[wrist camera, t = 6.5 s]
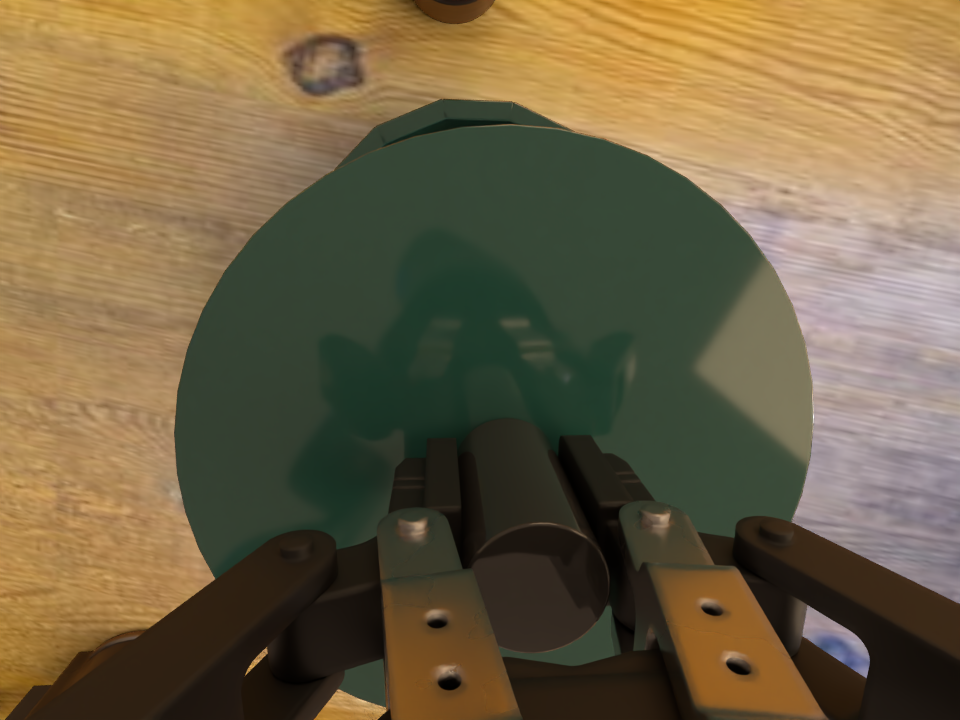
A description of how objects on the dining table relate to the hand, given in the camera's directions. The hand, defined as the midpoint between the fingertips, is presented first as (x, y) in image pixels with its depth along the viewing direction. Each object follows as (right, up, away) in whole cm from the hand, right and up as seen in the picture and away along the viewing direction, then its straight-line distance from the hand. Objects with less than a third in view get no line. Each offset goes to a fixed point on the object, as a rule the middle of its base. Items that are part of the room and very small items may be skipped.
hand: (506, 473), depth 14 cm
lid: (0, 0, +1) cm, 1 cm away
